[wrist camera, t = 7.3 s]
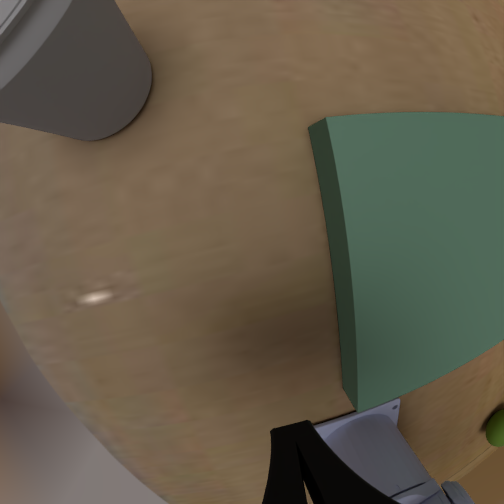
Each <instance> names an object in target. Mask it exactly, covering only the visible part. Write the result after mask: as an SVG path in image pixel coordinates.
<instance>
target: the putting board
mask: <svg viewBox="0 0 504 504" xmlns="http://www.w3.org/2000/svg"><path fill="white" fill-rule="evenodd" d="M308 129H309V134H310V139H311V144H312V148H313V153H314V158H315V163H316V169H317V174H318V179H319V185H320V190H321V196H322V202H323V208H324V214H325V220H326V227H327V233H328V240H329V247H330V254H331V262H332V270H333V278H334V286H335V295H336V304H337V314H338V325H339V336H340V348H341V363H342V379H343V389H344V391H345V392H346V394H347V396H348V397H349V399H350V401H351V403H352V404H353V406H354V408H355V409H356V411H357V413H359V412H362V411H365V410H367V409H370V408H373V407H375V406H378V405H380V404H383V403H385V402H388V401H390V400H393V399H395V398H397V397H400V396H402V395H404V394H406V393H409V392H411V391H413V390H415V389H417V388H419V387H421V386H424V385H426V384H428V383H430V382H432V381H434V380H436V379H438V378H440V377H442V376H443V375H445V374H447V373H449V372H451V371H453V370H455V369H456V368H458V367H460V366H462V365H464V364H465V363H467V362H469V361H470V360H472V359H474V358H476V357H477V356H479V355H481V354H482V353H484V352H485V351H487V350H489V349H490V348H492V347H493V346H495V345H496V344H498V343H499V342H501V341H502V340H504V116H495V115H483V114H468V113H445V112H399V113H374V114H358V115H345V116H334V117H326V118H324V119H322V120H320V121H318V122H317V123H315V124H313V125H311V126H309V127H308Z"/></svg>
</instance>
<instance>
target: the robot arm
mask: <svg viewBox="0 0 504 504" xmlns="http://www.w3.org/2000/svg"><path fill="white" fill-rule="evenodd" d="M399 407H400V399H399V398H398V397H397V398H395V399H393V400H390V401H388V402H385V403H383V404H380V405H378V406H375V407H373V408H370V409H367V410H365V411H362V412H359V413H357V412H354V413H352V414H349V415H346V416H343V417H340V418H337V419H334V420H331V421H327V422H324V423H321V424H317V425H314V426H313V425H312V423H311V421H309V420H305V421H302V422H298V423H294V424H290V425H286V426H282V427H278V428H274V429H272V430H271V431H270V434H271V459H270V467H269V474H268V480H267V485H266V489H265V494H264V498H263V502H262V504H308V503H307V499H306V493H305V487H304V482H305V485H306V487H307V489H308V492H309V494H310V497H311V499H312V501H313V504H475V503H474V502H473V500H472V499H471V498H470V496H469V495H468V493H467V492H466V491H465V490H464V488H463V487H462V486H461V485H460V484H459V483H458V482H456V481H451V482H450V481H445V482H444V483H442V484H441V487H442V489H443V491H444V492H445V494H446V495H445V494H444V493H443V491H442V490H441V488H440V487H439V485H438V484H437V482H436V481H435V479H434V478H431V477H430V475H429V474H428V472H427V471H426V469H425V468H424V466H423V465H422V463H421V462H420V460H419V459H418V458H417V456H416V455H415V453H414V452H413V450H412V449H411V447H410V446H409V444H408V443H407V441H406V440H405V438H404V437H403V436H402V434H401V433H400V431H399V430H398V428H397V421H398V414H399ZM303 480H304V482H303ZM446 496H447V497H446Z"/></svg>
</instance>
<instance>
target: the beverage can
mask: <svg viewBox="0 0 504 504" xmlns="http://www.w3.org/2000/svg"><path fill="white" fill-rule="evenodd" d="M151 81H152V71H151V65H150V61H149V59H148V57H147V55H146V53H145V51H144V50H143V48H142V46H141V45H140V43H139V41H138V40H137V38H136V36H135V34H134V33H133V31H132V29H131V28H130V26H129V24H128V23H127V21H126V19H125V18H124V16H123V14H122V13H121V11H120V9H119V7H118V6H117V4H116V2H115V1H114V0H0V122H1V123H6V124H11V125H16V126H21V127H26V128H31V129H35V130H40V131H44V132H49V133H53V134H57V135H62V136H66V137H70V138H74V139H78V140H84V141H92V140H99V139H102V138H105V137H108V136H110V135H112V134H114V133H116V132H118V131H119V130H121V129H122V128H124V127H125V126H126V125H127V124H128V123H130V122H131V121H132V120H133V118H134V117H135V116H136V115H137V114H138V112H139V111H140V110H141V108H142V106H143V105H144V103H145V101H146V99H147V96H148V94H149V91H150V87H151Z"/></svg>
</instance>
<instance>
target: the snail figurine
mask: <svg viewBox="0 0 504 504" xmlns="http://www.w3.org/2000/svg"><path fill="white" fill-rule="evenodd" d="M486 438H487V440H488V442H489V443H490V444H491V445H493V446H497V447H500V446H504V409H502V410H500V411H498V412H496V413H495V414H494V415H493V416H492V417H491V418H490V420H489V422H488V424H487V427H486Z"/></svg>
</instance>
